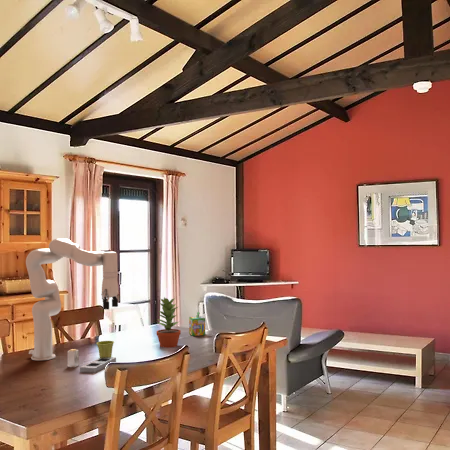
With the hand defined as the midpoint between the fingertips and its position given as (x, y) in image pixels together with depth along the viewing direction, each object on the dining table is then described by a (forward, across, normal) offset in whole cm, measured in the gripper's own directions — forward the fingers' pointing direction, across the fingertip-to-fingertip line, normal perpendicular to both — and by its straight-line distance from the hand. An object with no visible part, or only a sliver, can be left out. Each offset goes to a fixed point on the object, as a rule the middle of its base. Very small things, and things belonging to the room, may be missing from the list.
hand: (110, 308), depth 273 cm
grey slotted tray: (+29, +9, -2) cm, 30 cm away
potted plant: (+29, -46, +14) cm, 56 cm away
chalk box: (+29, -82, +21) cm, 89 cm away
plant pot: (+29, -9, -8) cm, 31 cm away
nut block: (+29, +10, -16) cm, 35 cm away
